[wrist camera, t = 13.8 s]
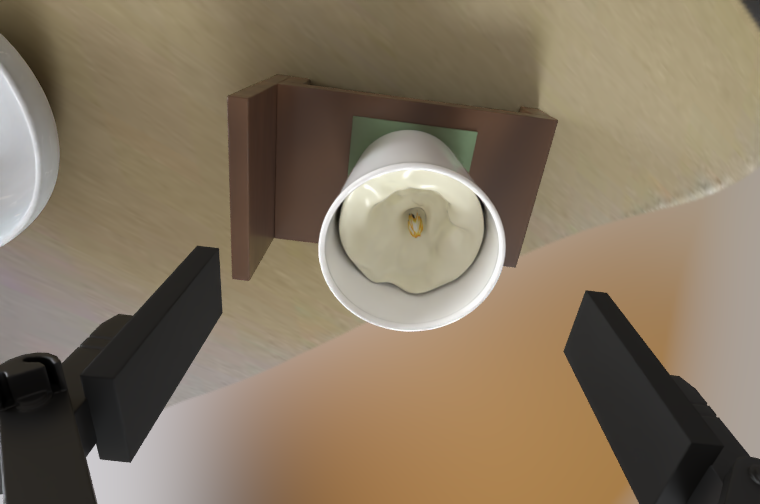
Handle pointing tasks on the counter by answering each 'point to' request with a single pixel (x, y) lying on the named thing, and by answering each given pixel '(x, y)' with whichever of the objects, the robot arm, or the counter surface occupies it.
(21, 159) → the serving bowl
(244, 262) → the wooden display stand
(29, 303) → the counter surface
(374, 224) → the candle holder
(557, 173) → the counter surface
